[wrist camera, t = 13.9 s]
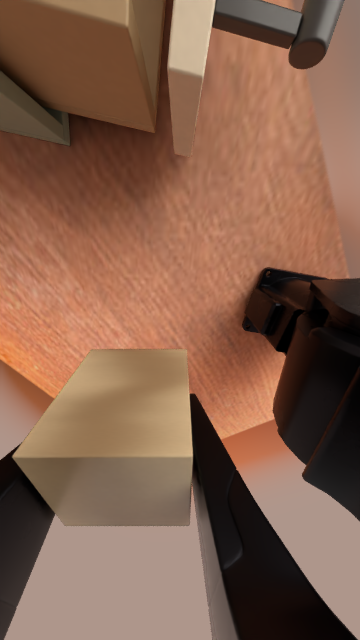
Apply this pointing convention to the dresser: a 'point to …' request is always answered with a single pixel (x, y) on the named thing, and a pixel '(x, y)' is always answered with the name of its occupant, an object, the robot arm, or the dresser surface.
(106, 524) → the block
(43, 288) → the dresser surface
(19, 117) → the cabinet
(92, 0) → the drawer
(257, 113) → the dresser surface
